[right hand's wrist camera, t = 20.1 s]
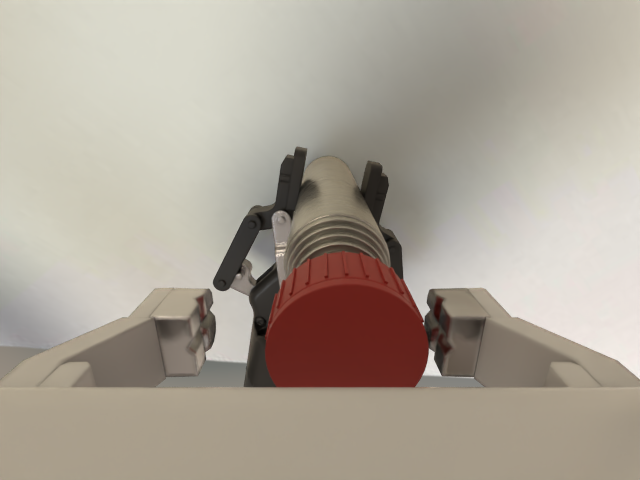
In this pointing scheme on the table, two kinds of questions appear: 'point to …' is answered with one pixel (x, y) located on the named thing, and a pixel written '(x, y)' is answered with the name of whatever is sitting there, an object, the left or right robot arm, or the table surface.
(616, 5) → the table surface
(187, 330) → the right robot arm
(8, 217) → the table surface
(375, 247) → the bottle
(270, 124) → the table surface
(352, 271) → the cap
